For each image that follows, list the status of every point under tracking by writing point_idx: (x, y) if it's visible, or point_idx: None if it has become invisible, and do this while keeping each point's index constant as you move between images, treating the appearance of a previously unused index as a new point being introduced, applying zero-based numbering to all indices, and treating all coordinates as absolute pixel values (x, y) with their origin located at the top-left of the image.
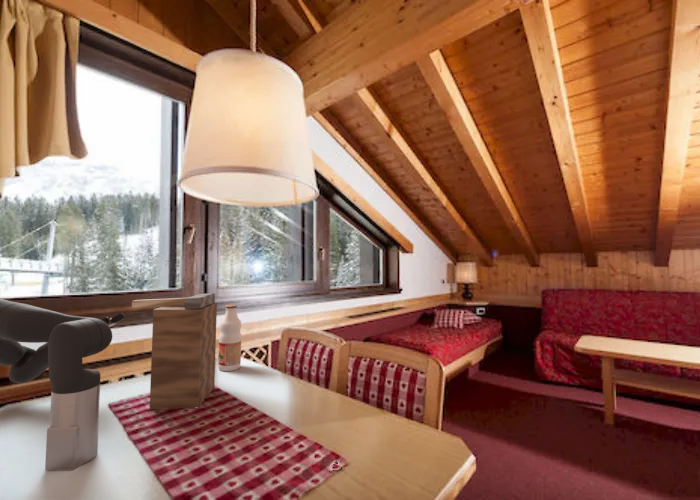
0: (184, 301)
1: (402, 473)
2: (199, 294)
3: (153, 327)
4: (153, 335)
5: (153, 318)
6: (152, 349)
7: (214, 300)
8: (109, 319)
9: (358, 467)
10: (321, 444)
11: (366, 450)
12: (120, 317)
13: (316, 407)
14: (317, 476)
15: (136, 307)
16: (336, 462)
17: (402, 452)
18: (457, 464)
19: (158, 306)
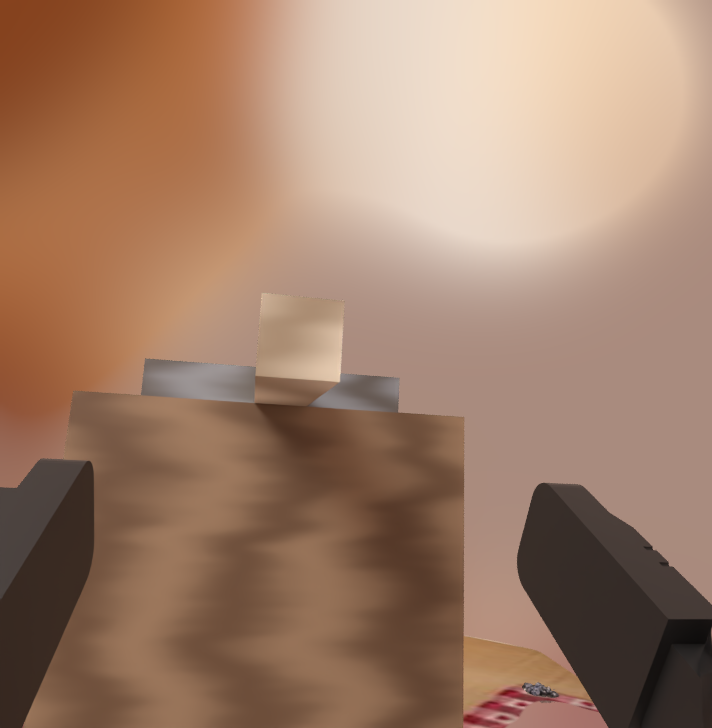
0: (398, 392)
1: (514, 660)
2: (191, 362)
3: (462, 539)
4: (460, 596)
5: (462, 477)
6: (461, 703)
7: None
8: (534, 525)
9: (525, 679)
10: (483, 702)
11: (475, 674)
12: (71, 560)
13: None
14: (576, 703)
15: (332, 386)
16: (540, 683)
17: (463, 656)
18: (469, 638)
19: (309, 403)
